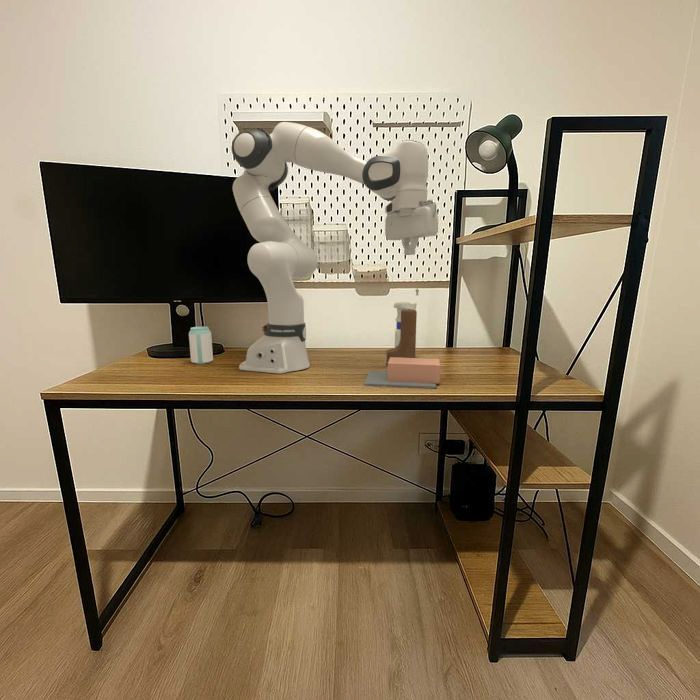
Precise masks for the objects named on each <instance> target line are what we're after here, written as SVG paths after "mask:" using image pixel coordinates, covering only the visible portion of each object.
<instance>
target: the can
mask: <svg viewBox="0 0 700 700" xmlns="http://www.w3.org/2000/svg"><path fill="white" fill-rule="evenodd" d="M212 339H213V337H212V331H211V330H210V329H209V326H193V327H190V330H189V332H188V340H189V352H190V353H189V355H190V362H191V363H193V364H194V363H197V364H196V365H206V364H205V363H207V364H209V363H211V362H212V361H214V355H213V340H212Z"/></svg>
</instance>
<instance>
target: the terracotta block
mask: <svg viewBox="0 0 700 700" xmlns="http://www.w3.org/2000/svg"><path fill="white" fill-rule="evenodd" d="M387 371H388V381H398V382H419V383H436V384H440V379H441V377H440V375H441V362H440V358H424V357H423V358H420V357H415V358H398V357H390V359H389V362H388V364H387Z"/></svg>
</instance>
